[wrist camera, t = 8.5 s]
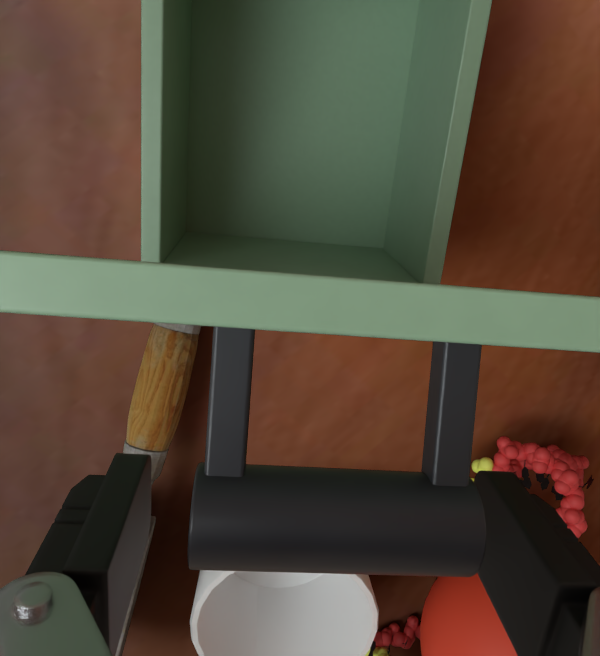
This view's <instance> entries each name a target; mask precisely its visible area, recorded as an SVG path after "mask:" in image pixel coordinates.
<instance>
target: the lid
mask: <svg viewBox="0 0 600 656" xmlns="http://www.w3.org/2000/svg"><path fill="white" fill-rule="evenodd" d="M0 312H5V313H20V314H35V315H50V316H65V317H79V318H94V319H109V320H124V321H138V322H153V323H168V324H183V325H198V326H212V327H213V343H212V358H211V374H210V389H209V405H208V420H207V436H206V451H205V462H201V463H199V464H198V466H197V469H196V473H195V479H194V485H193V493H192V501H191V510H190V521H189V535H188V566H189V569H191V570H213V571H250V572H288V573H326V574H364V575H402V576H440V577H472V576H474V575H475V574H476V573H477V572H478V571H479V569H480V567H481V565H482V562H483V559H484V554H485V547H486V522H485V514H484V508H483V504H482V500H481V497H480V494H479V491H478V489H477V487H476V485H475V483H474V482H473V480H472V479H471V478H470V477H469V473H470V463H471V452H472V442H473V431H474V421H475V410H476V400H477V389H478V379H479V368H480V358H481V347H482V345H493V346H508V347H523V348H537V349H552V350H567V351H582V352H597V353H600V297H594V296H581V295H568V294H556V293H543V292H530V291H517V290H504V289H491V288H478V287H466V286H453V285H440V284H427V283H414V282H401V281H388V280H376V279H363V278H350V277H337V276H324V275H311V274H298V273H286V272H273V271H260V270H247V269H234V268H221V267H208V266H196V265H183V264H170V263H157V262H144V261H131V260H118V259H105V258H93V257H80V256H67V255H54V254H41V253H28V252H15V251H3V250H0ZM255 329H257V330H271V331H286V332H301V333H316V334H331V335H345V336H360V337H375V338H390V339H404V340H419V341H433V349H432V361H431V372H430V383H429V394H428V405H427V416H426V427H425V439H424V450H423V461H422V472H408V471H385V470H363V469H340V468H318V467H296V466H273V465H251V464H246V453H247V439H248V424H249V410H250V395H251V381H252V366H253V352H254V338H255Z"/></svg>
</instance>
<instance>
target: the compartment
mask: <svg viewBox="0 0 600 656" xmlns="http://www.w3.org/2000/svg"><path fill="white" fill-rule="evenodd" d="M491 5H492V0H141V261H144V262H157V263H170V264H183V265H196V266H208V267H221V268H234V269H247V270H260V271H273V272H286V273H298V274H311V275H324V276H337V277H350V278H363V279H376V280H388V281H401V282H414V283H427V284H440V282H441V276H442V271H443V265H444V260H445V255H446V249H447V244H448V238H449V233H450V227H451V222H452V217H453V211H454V206H455V200H456V195H457V189H458V184H459V179H460V173H461V168H462V162H463V157H464V151H465V146H466V141H467V135H468V130H469V124H470V119H471V113H472V108H473V103H474V97H475V92H476V86H477V81H478V75H479V70H480V65H481V59H482V54H483V48H484V43H485V37H486V32H487V26H488V21H489V16H490V10H491Z"/></svg>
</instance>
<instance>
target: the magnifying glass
mask: <svg viewBox="0 0 600 656" xmlns="http://www.w3.org/2000/svg"><path fill="white" fill-rule="evenodd" d="M200 329H201V326H198V325H183V324H168V323H154V325H153V327H152V329H151V332H150V335H149V338H148V342H147V345H146V349H145V352H144V356H143V359H142V363H141V366H140V370H139V373H138V377H137V381H136V385H135V389H134V393H133V397H132V402H131V406H130V411H129V417H128V425H127V439H126V440H125V444H124V449H123V453H127V454H149V455H150V456H151V486H152V484H153V482H154V480H155V479H157V478H158V477H159V476H160V473H161V471H162V468H163V465H164V462H165V459H166V456H167V453H168V450H169V449H168V448H169V446H170V444H171V441H172V439H173V437H174V434H175V432H176V429H177V426H178V423H179V420H180V417H181V413H182V410H183V406H184V403H185V399H186V395H187V391H188V386H189V382H190V377H191V373H192V368H193V364H194V359H195V355H196V350H197V344H198V335H199V333H200ZM155 522H156V517H155V516H151V520H150V529H149V535H148V540H147V544H146V547H145V551H144V554H143V558H142V562H141V565H140V569H139V572H138V576H137V579H136V583H135V587H134V590H133V594H132V597H131V601H130V604H129V608H128V612H127V615H126V619H125V622H124V626H123V629H122V633H121V636H120V640H119V644H118V647H117V651H116V654H115V656H122V653H123V649H124V645H125V641H126V637H127V634H128V630H129V626H130V622H131V618H132V614H133V610H134V606H135V603H136V599H137V595H138V591H139V587H140V583H141V579H142V575H143V571H144V567H145V563H146V559H147V555H148V551H149V547H150V543H151V539H152V535H153V531H154V526H155Z"/></svg>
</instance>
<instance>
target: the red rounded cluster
mask: <svg viewBox="0 0 600 656" xmlns="http://www.w3.org/2000/svg"><path fill="white" fill-rule="evenodd" d="M497 446H498V448H499V450H498V452H497V453H496V454H495V456H494V461H492V460H491V459H490V458H488V457H484V458H482V459H480V460H474V461H473V462H472V470H473V471H474V472H475V473H478V472H479V471H504V472H512V473H514V474H515V475H516V476H517V478H518V479H519V477H523V478H524V480H520V482H521V483H522V484H523V486H524V487H526V488H528V489H530V487H531V485H532V484H531V481H530V478H528V476H529V473H528V470H534V471H535V472H536V478H537V481H538V482H540V483H541V488H542V490H544V489H546V488H547V486H548V484H549V480H548V478H544V473H546V474H548V476H549V474H551V477H552V479H553V480H554V481H555V484H554V486H553V487H552V493H554V494H555V495H556V500H561V503H560V504H561V507H559V508H557V509H556V511H557V513H558V514H559V515H560V516H561V518H562V519H563V520H564V522H565V523H566V524H567V528H570V529H571V530H572V532H573V533H574V534H575V536H576V537H577V538H579V537H580V536H581V534H582V533H584V532H585V531H586V530H587V527H588V526H587V522H586V520H585V516H584V513H583V512H582V510H581V509H582V508H583V507H584V504H585V502H584V497H585V496H584V492H583V491H582V488H583V487H584V486H585V485H586V484H588V486H587V489H588V488H589V486H590V485H591V484H592V482H593V480H594V479H592V475H591V477H590V478H589V479H588V481H587V483H585V484H584V483H583V478H584V476H583V475H584V471H583V469H586V468H587V467H588V466H589V460H588V459H587V458H586V457H585V456H576V455H570V454H568V453H566V452H565V451H564V450H562V449H559V448H558V446H556V445H549V446H547V448H545V447H540V446H539V445H538V444H536V443H524V444H523V445H522V444H521V443H520V442H518V441H511V440H510V439H509V438H508V437H506V436H501V437H500V438H498V440H497ZM548 476H547V477H548ZM471 479H472V480H473V482H474V478H471ZM563 495H564V496H566V497H565V498H563ZM562 498H563V499H562ZM543 501H544V500H543ZM415 636H416V637H417V638H419V639H420V641H421V654H422V656H518V655H517V653H516V651H515V649H514V647H513V645H512V643H511V641H510V639H509V637H508V635H507V633H506V631H505V629H504V627H503V625H502V623H501V621H500V619H499V616H498V614H497V612H496V610H495V608H494V606H493V604H492V602H491V600H490V598H489V596H488V594H487V592H486V590H485V588H484V586H483V584H482V582H481V580H480V578H479V576H478V574H477V573H476V574H475V575H474V576H472V577H440V576H438V578H437V579H436V581H435V582H434V584H433V585H432V587H431V589H430V592H429V594H428V596H427V598H426V599H425V604H424V607H423V612H422V618H421V624H420V625H419V620H418V618H417V617H416V616H413V615H412V616H410V617H408V619H407V623H406V625H405V628H404V632H403V633H402V632H400V627H399V625H398V624H397V623H391V624H390V625H389V627H388V628H387V627H386V628H384V629H383V630H382V632H376V635H375V637H374V640H373V642H372V645H371V647H370V650H369V651H368V652H367V654H366V655H365V656H390V653H389V652H390V645H392V646H394V647H402V648H403V649H409V648H410V647H411V646H412V644H413V643H414V641H415ZM382 646H389V648H388V649H389V651H388V650H387V649H386V648H383V647H382Z"/></svg>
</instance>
